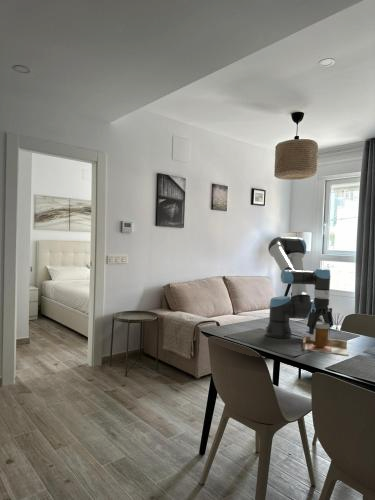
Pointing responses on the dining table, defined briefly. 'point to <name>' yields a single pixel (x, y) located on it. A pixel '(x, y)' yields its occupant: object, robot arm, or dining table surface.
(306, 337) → the brown beige flat box
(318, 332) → the cup of beer
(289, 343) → the dining table surface
